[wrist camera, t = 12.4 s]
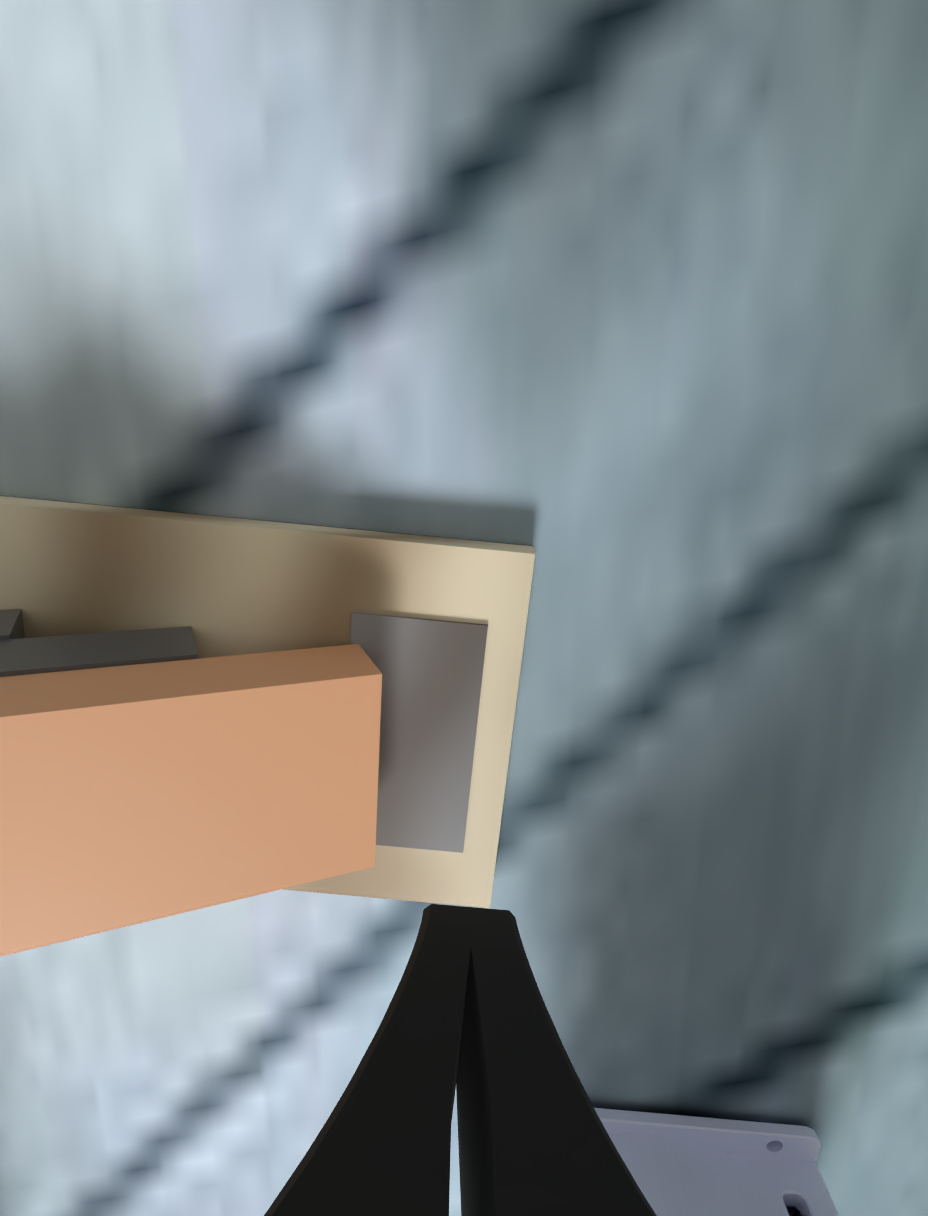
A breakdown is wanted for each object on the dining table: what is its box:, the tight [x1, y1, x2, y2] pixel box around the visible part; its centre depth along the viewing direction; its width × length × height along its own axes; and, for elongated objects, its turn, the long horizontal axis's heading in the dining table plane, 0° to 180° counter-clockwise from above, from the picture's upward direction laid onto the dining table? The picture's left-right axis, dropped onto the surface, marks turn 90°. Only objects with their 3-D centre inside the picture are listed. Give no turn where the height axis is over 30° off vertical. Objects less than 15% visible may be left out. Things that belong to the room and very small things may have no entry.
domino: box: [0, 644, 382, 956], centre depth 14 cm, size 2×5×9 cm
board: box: [0, 496, 535, 908], centre depth 17 cm, size 21×10×1 cm, turn 85°
